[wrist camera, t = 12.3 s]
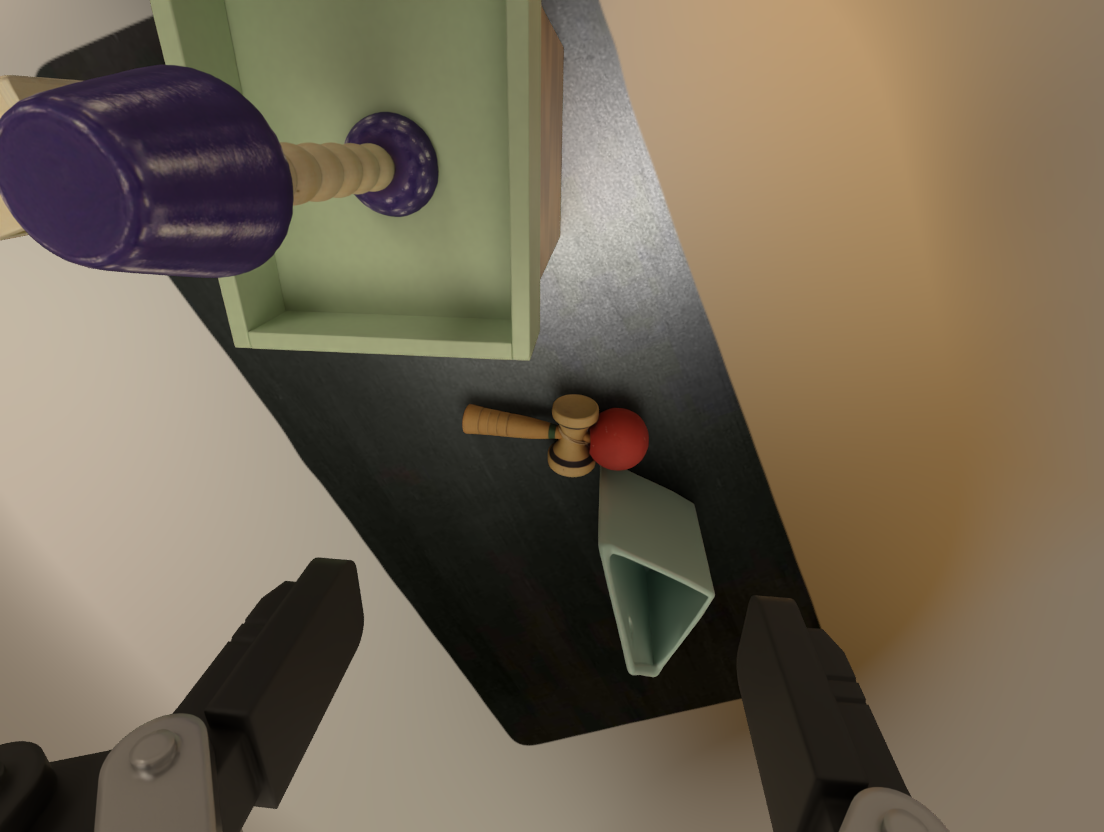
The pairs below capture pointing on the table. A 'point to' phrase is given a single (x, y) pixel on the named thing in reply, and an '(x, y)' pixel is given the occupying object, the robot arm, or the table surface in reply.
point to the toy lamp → (187, 173)
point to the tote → (346, 223)
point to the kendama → (571, 434)
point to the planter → (651, 567)
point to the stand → (550, 139)
